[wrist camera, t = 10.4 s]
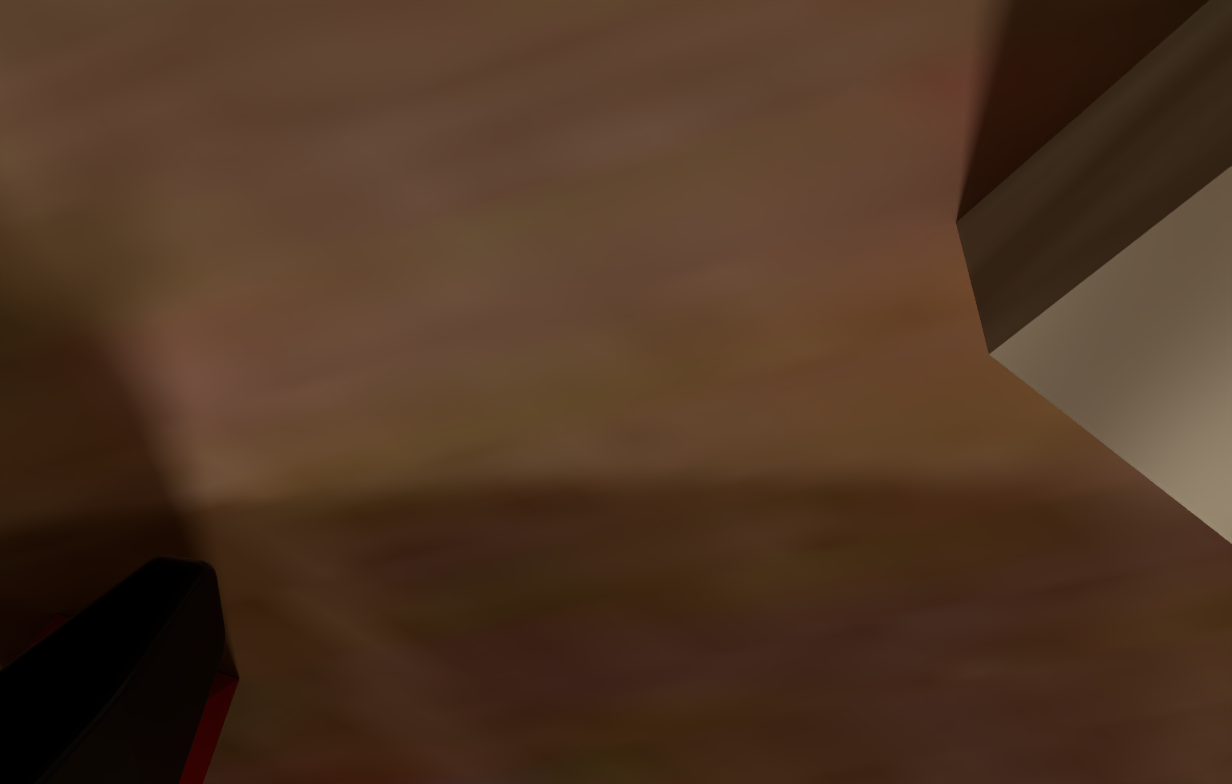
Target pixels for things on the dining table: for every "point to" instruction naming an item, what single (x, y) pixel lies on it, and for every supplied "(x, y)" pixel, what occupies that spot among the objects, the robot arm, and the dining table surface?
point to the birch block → (1128, 267)
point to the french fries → (208, 724)
